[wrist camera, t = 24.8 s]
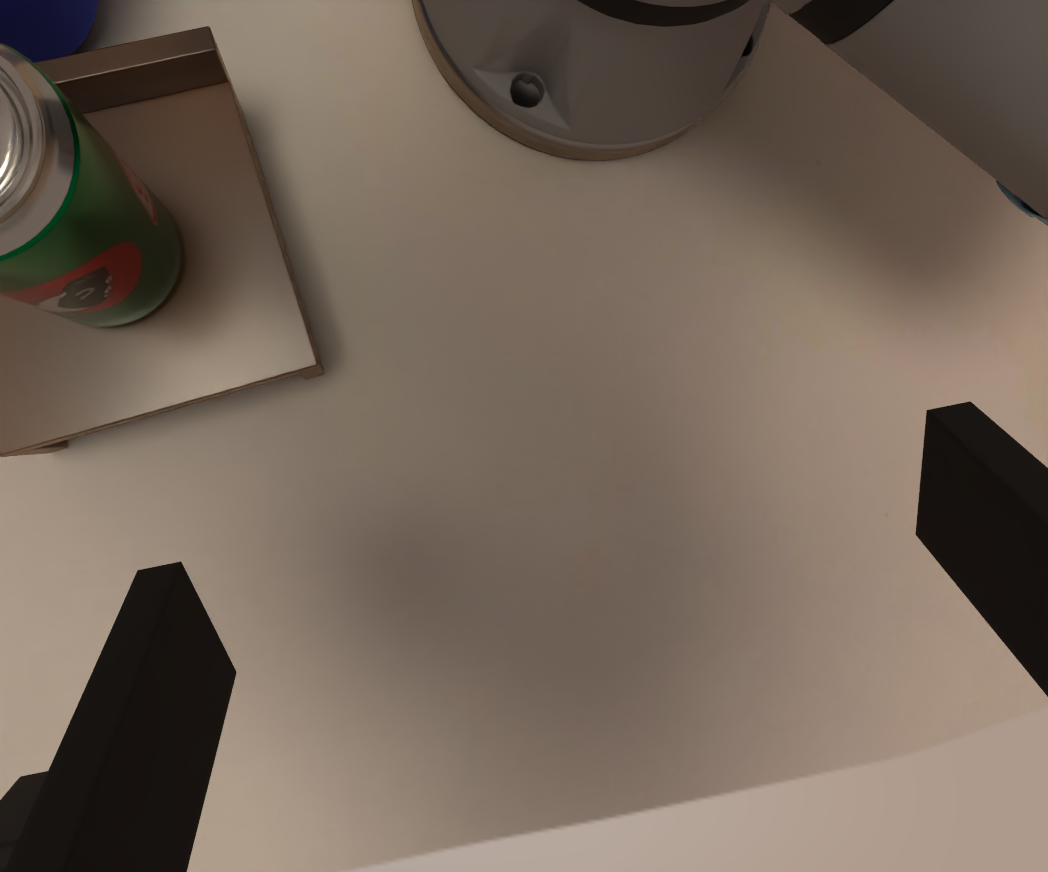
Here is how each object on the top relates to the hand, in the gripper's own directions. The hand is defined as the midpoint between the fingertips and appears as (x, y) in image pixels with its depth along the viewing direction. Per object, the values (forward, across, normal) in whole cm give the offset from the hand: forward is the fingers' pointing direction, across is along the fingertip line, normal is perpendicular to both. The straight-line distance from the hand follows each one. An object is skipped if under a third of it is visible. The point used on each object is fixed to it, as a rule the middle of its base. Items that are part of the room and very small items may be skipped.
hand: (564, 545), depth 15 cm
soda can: (+17, -13, +2) cm, 22 cm away
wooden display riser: (+22, -14, 0) cm, 26 cm away
